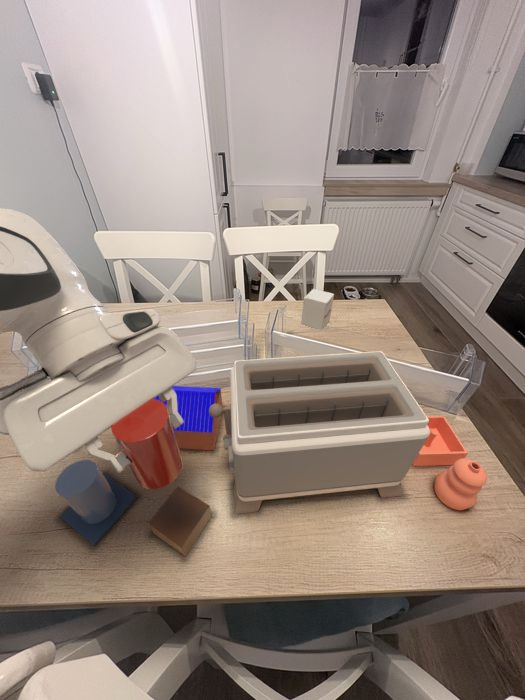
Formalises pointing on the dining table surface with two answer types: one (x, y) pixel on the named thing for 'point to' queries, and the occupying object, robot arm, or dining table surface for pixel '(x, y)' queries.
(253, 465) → the toaster
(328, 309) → the white packaging box
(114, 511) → the blue mat
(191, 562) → the dining table surface
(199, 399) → the house
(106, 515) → the blue canister
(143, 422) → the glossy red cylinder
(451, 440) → the pottery
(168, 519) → the riser
